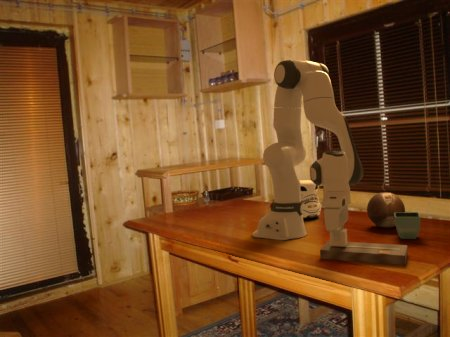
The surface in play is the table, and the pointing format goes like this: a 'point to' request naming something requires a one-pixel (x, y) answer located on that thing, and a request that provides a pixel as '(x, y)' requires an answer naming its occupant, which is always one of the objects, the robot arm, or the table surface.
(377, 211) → the brown leather ball
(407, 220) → the flower pot
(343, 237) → the fader
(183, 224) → the table surface
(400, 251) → the track board
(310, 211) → the milk container
